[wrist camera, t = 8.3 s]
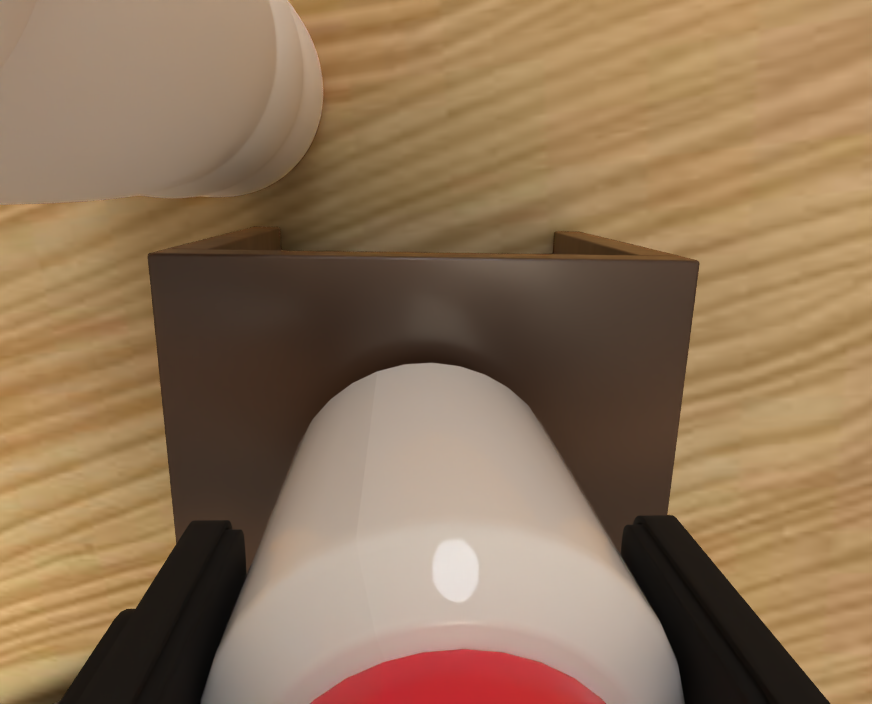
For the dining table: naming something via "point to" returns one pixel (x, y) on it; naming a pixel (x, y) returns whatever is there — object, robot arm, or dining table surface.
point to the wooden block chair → (416, 356)
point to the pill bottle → (437, 564)
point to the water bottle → (152, 98)
